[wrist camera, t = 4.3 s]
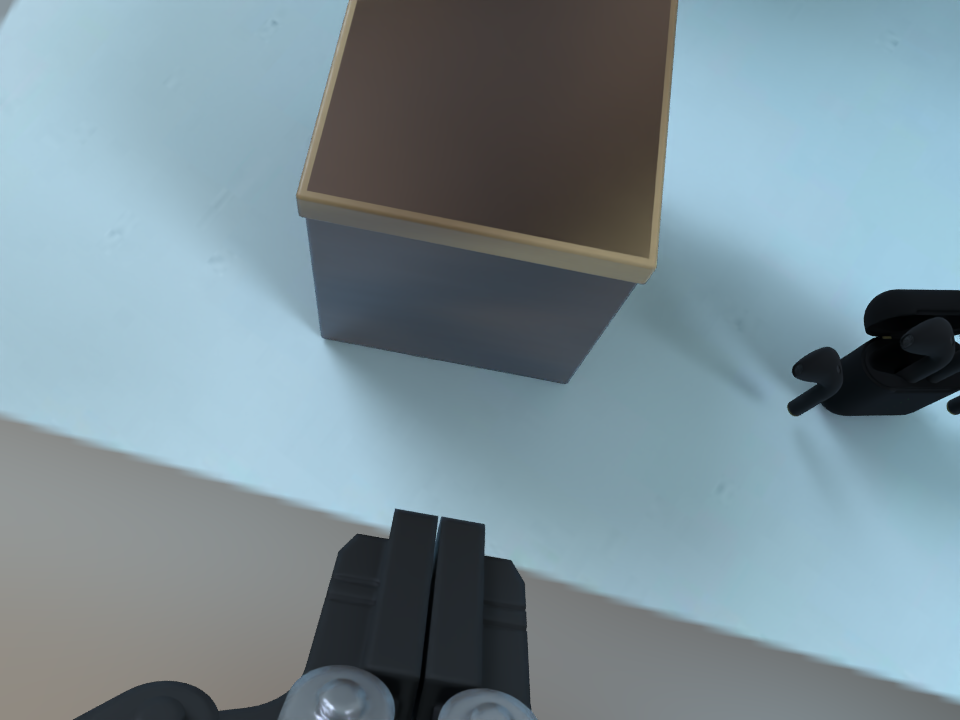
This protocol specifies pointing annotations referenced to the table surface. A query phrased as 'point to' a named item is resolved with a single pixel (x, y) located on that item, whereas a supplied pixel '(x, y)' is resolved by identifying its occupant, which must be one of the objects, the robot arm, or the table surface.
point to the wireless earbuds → (890, 359)
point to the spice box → (488, 176)
